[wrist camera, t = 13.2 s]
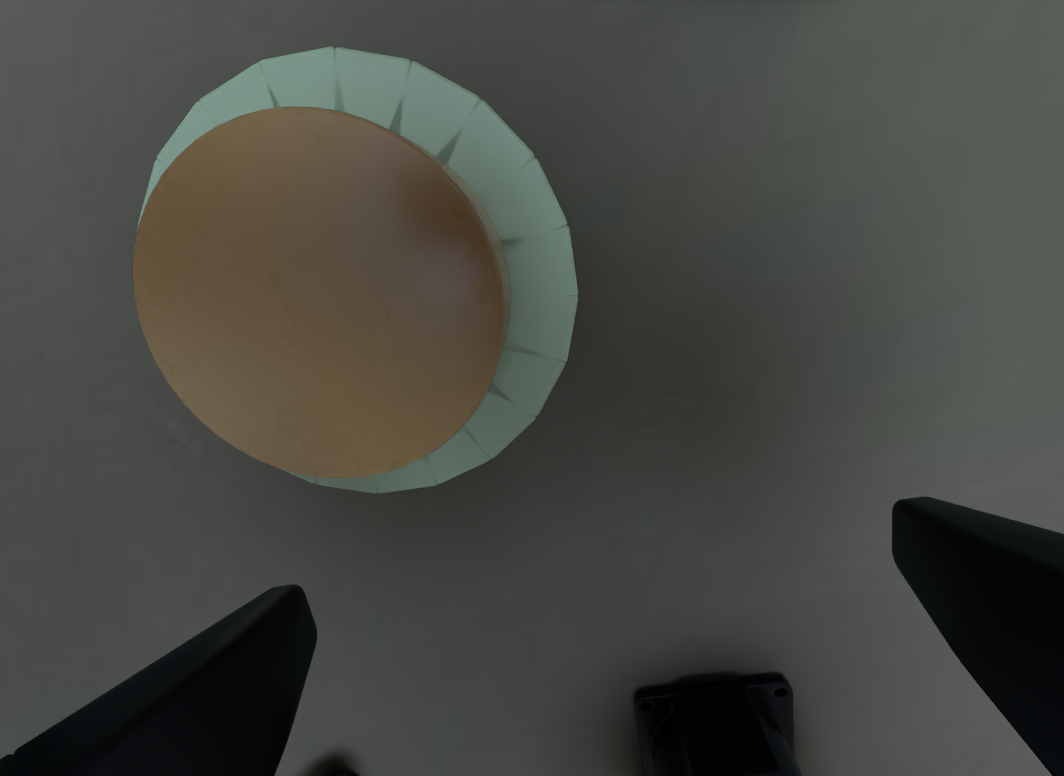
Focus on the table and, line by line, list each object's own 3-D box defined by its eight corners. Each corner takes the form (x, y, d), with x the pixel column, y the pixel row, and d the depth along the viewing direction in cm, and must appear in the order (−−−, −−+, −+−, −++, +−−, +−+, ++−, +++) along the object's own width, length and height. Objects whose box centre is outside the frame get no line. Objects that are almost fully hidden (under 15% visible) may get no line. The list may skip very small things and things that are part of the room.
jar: (581, 372, 20) (601, 463, 12) (335, 408, 20) (221, 516, 13) (541, 91, 17) (538, 4, 10) (260, 144, 18) (65, 97, 10)
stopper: (537, 363, 16) (532, 455, 10) (328, 394, 17) (204, 500, 11) (498, 130, 15) (465, 70, 8) (265, 172, 15) (69, 144, 9)
